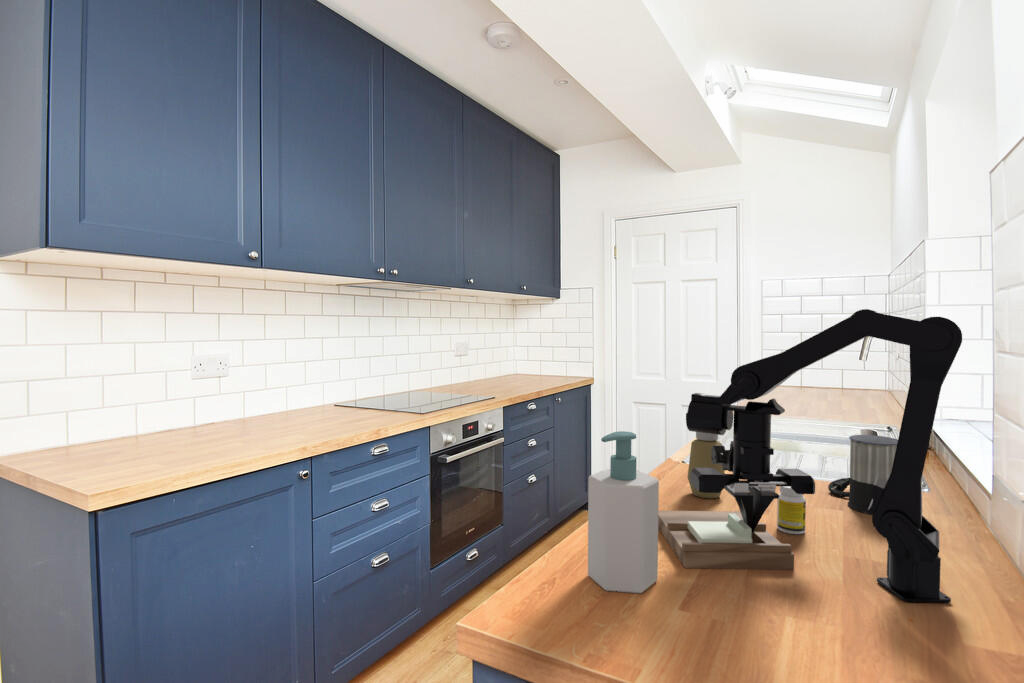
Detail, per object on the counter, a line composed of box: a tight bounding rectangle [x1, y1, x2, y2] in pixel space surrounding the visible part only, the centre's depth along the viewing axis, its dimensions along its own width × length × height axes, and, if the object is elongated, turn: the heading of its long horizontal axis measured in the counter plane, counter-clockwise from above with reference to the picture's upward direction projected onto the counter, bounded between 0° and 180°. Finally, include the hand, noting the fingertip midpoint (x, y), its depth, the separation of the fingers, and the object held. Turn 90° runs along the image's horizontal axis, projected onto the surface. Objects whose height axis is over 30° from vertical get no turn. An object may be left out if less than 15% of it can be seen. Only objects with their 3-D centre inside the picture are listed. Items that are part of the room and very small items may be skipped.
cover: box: [688, 514, 752, 543], centre depth 94 cm, size 8×8×3 cm
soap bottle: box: [587, 430, 660, 594], centre depth 84 cm, size 10×9×22 cm
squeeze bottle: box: [687, 432, 726, 499], centre depth 126 cm, size 8×8×18 cm
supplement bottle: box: [776, 486, 807, 535], centre depth 105 cm, size 5×5×8 cm
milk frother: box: [827, 434, 898, 515], centre depth 121 cm, size 14×16×15 cm
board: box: [658, 510, 795, 570], centre depth 98 cm, size 20×17×3 cm
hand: (749, 531), depth 94 cm, fingers closed
